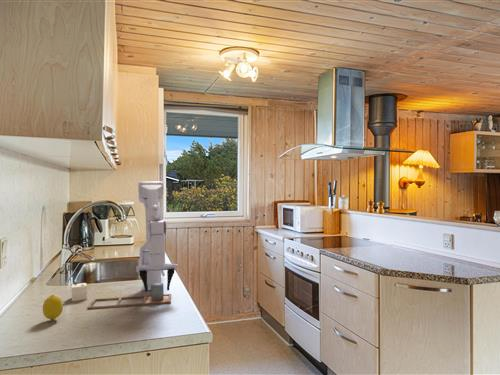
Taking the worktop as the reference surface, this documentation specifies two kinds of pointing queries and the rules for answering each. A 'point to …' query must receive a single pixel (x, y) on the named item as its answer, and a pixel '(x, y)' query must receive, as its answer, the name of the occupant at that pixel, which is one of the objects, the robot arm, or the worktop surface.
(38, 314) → the worktop surface
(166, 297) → the board
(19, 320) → the worktop surface
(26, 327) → the worktop surface
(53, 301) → the lemon
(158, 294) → the grey rounded cylinder
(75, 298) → the die
